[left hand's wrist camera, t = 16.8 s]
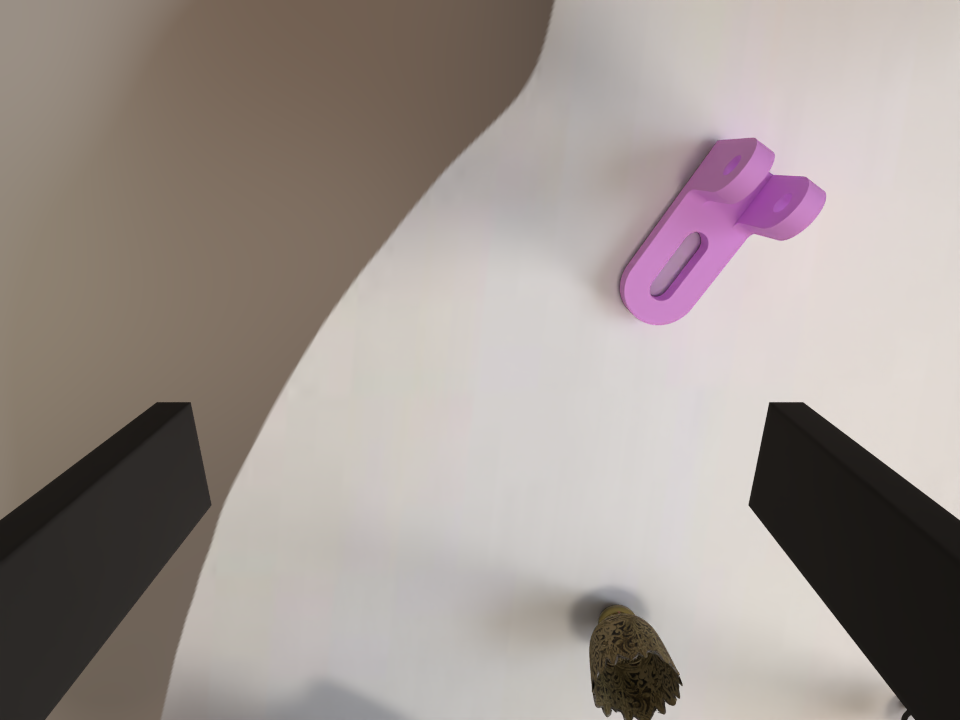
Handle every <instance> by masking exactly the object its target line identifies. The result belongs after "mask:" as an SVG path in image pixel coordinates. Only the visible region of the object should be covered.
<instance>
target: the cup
mask: <svg viewBox="0 0 960 720" xmlns="http://www.w3.org/2000/svg"><path fill="white" fill-rule="evenodd" d="M589 657H590V671H591V682H592V692H593V698H594V702H595V706H596V707H597V708H602V710H603V713H604V714H605V716H606V717H609V716H610V715H611V712H612V710H611V709H613V710H614V711H615V712H616V713H617V711H619V712H621V713H622V715H623V717H624V720H632V719H633V717H635V718H636V719H638V720H651V718H652V717H653V715H654V712H655V711H656V710H657V709H658V711H659V712H658V713H661V714H665V713H666V709H665V702H666V703H668V704H669V705H671V706H674V705H675V704H676V700H677V699H676V697H677V698H679V699H680V692H679V684H680V685H681V686H683V685H682V682H681V679H680V677H679V675H680V674H679V672H678V671H677V669H676V667H675V665H674V663H673V661H672V659H671V657H670V655H669V654H668V652H667V650H666V648H665V646H664V644H663V642H662V641H661V639H660V637H659V636H658V634H657V633H656V631H655V630H654V629H653V628H652V626H651V625H650V624H648V623H647V622H646V621H645V620H643V619H642V618H640V617H638V616H635V614H634V613H633V612H632V611H631V610H630V609H629V608H627V607H625V606H623V605H612V606H609V607H607V608H606V609H604V610H603V611H602V612H601V614H600V616H599V620H598V625H597V626H596V628H595V629H594V631H593V633H592V636H591V640H590V647H589ZM664 700H665V701H664Z"/></svg>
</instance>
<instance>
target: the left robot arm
mask: <svg viewBox="0 0 960 720" xmlns="http://www.w3.org/2000/svg"><path fill="white" fill-rule="evenodd" d="M210 506H211V501H210V496H209V491H208V486H207V481H206V476H205V471H204V466H203V461H202V456H201V451H200V446H199V441H198V437H197V431H196V426H195V422H194V417H193V412H192V407H191V403H190V402H157V403H155V404H154V405H153V406H151V407H150V408H149V409H147V410H146V411H145V412H143V413H142V414H141V415H139V416H138V417H137V418H135V419H134V420H133V421H131V422H130V423H129V424H127V425H126V426H125V427H124V428H122V429H121V430H120V431H118V432H117V433H116V434H114V435H113V436H112V437H110V438H109V439H108V440H106V441H105V442H104V443H102V444H101V445H100V446H98V447H97V448H96V449H94V450H93V451H92V452H90V453H89V454H88V455H86V456H85V457H84V458H82V459H81V460H80V461H78V462H77V463H76V464H74V465H73V466H72V467H70V468H69V469H68V470H66V471H65V472H64V473H62V474H61V475H60V476H58V477H57V478H56V479H54V480H53V481H52V482H50V483H49V484H48V485H46V486H45V487H44V488H43V489H41V490H40V491H39V492H37V493H36V494H35V495H33V496H32V497H31V498H29V499H28V500H27V501H25V502H24V503H23V504H21V505H20V506H19V507H17V508H16V509H15V510H13V511H12V512H11V513H9V514H8V515H7V516H5V517H4V518H3V519H1V520H0V720H45V719H46V718H47V716H48V715H49V714H50V713H51V711H52V710H53V709H54V707H55V706H56V705H57V704H58V702H59V701H60V700H61V698H62V697H63V696H64V695H65V693H66V692H67V691H68V689H69V688H70V687H71V686H72V684H73V683H74V682H75V680H76V679H77V678H78V677H79V675H80V674H81V673H82V671H83V670H84V669H85V667H86V666H87V665H88V664H89V662H90V661H91V660H92V658H93V657H94V656H95V655H96V653H97V652H98V651H99V649H100V648H101V647H102V646H103V644H104V643H105V642H106V640H107V639H108V638H109V637H110V635H111V634H112V633H113V631H114V630H115V629H116V627H117V626H118V625H119V624H120V622H121V621H122V620H123V619H124V617H125V616H126V615H127V613H128V612H129V611H130V609H131V608H132V607H133V606H134V604H135V603H136V602H137V600H138V599H139V598H140V597H141V595H142V594H143V593H144V591H145V590H146V589H147V588H148V586H149V585H150V584H151V582H152V581H153V580H154V578H155V577H156V576H157V575H158V573H159V572H160V571H161V570H162V568H163V567H164V566H165V564H166V563H167V562H168V560H169V559H170V558H171V557H172V555H173V554H174V553H175V551H176V550H177V549H178V548H179V546H180V545H181V544H182V542H183V541H184V540H185V539H186V537H187V536H188V535H189V533H190V532H191V531H192V530H193V528H194V527H195V526H196V524H197V523H198V522H199V521H200V519H201V518H202V517H203V515H204V514H205V513H206V511H207V510H208V509H209V508H210ZM749 506H750V508H751V509H752V510H753V512H754V513H755V514H756V515H757V517H758V518H759V519H760V521H761V522H762V523H763V524H764V526H765V527H766V528H767V530H768V531H769V532H770V533H771V535H772V536H773V537H774V539H775V540H776V541H777V542H778V544H779V545H780V546H781V548H782V549H783V550H784V551H785V553H786V554H787V555H788V557H789V558H790V559H791V561H792V562H793V563H794V564H795V566H796V567H797V568H798V570H799V571H800V572H801V573H802V575H803V576H804V577H805V579H806V580H807V581H808V582H809V584H810V585H811V586H812V588H813V589H814V590H815V591H816V593H817V594H818V595H819V597H820V598H821V599H822V600H823V602H824V603H825V604H826V606H827V607H828V608H829V609H830V611H831V612H832V613H833V615H834V616H835V617H836V619H837V620H838V621H839V622H840V624H841V625H842V626H843V628H844V629H845V630H846V631H847V633H848V634H849V635H850V637H851V638H852V639H853V640H854V642H855V643H856V644H857V646H858V647H859V648H860V649H861V651H862V652H863V653H864V655H865V656H866V657H867V658H868V660H869V661H870V662H871V664H872V665H873V666H874V667H875V669H876V670H877V671H878V673H879V674H880V675H881V677H882V678H883V679H884V680H885V682H886V683H887V684H888V686H889V687H890V688H891V689H892V691H893V692H894V693H895V695H896V696H897V697H898V698H899V700H900V701H901V702H902V704H903V705H904V706H905V707H906V709H907V710H908V711H909V713H910V714H911V715H912V716H913V718H914V719H915V720H960V520H959V519H957V518H956V517H955V516H953V515H952V514H951V513H949V512H948V511H947V510H945V509H944V508H943V507H941V506H940V505H939V504H937V503H936V502H935V501H933V500H932V499H931V498H929V497H928V496H927V495H925V494H924V493H923V492H921V491H920V490H919V489H917V488H916V487H915V486H914V485H912V484H911V483H910V482H908V481H907V480H906V479H904V478H903V477H902V476H900V475H899V474H898V473H896V472H895V471H894V470H892V469H891V468H890V467H888V466H887V465H886V464H884V463H883V462H882V461H880V460H879V459H878V458H876V457H875V456H874V455H872V454H871V453H870V452H868V451H867V450H866V449H864V448H863V447H862V446H860V445H859V444H858V443H856V442H855V441H854V440H852V439H851V438H850V437H848V436H847V435H846V434H844V433H843V432H842V431H840V430H839V429H838V428H837V427H835V426H834V425H833V424H831V423H830V422H829V421H827V420H826V419H825V418H823V417H822V416H821V415H819V414H818V413H817V412H815V411H814V410H813V409H811V408H810V407H809V406H807V405H806V404H805V403H803V402H769V407H768V412H767V417H766V422H765V426H764V431H763V436H762V441H761V446H760V451H759V456H758V461H757V466H756V471H755V476H754V481H753V486H752V491H751V496H750V500H749Z"/></svg>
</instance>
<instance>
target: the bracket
mask: <svg viewBox="0 0 960 720" xmlns="http://www.w3.org/2000/svg"><path fill="white" fill-rule="evenodd" d="M774 158H775V154H774V152H772V151H771V150H770V149H769V148H767V147H766V146H765V145H763V144H762V143H761V142H759V141H758V140H757V139H755V138H743V139H730V140H718V141H717V142H716V144H715V145H714V146H713V148H712V149H711V151H710V152H709V153H708V155H707V156H706V157H705V159H704V160H703V162H702V163H701V164H700V166H699V167H698V168H697V170H696V171H695V173H694V174H693V175H692V177H691V178H690V180H689V181H688V182H687V184H686V185H685V186H684V188H683V189H682V191H681V192H680V193H679V195H678V196H677V197H676V199H675V200H674V202H673V203H672V204H671V206H670V207H669V208H668V210H667V211H666V213H665V214H664V215H663V217H662V218H661V220H660V221H659V222H658V224H657V225H656V226H655V228H654V229H653V231H652V232H651V233H650V235H649V236H648V237H647V239H646V240H645V242H644V243H643V244H642V246H641V247H640V248H639V250H638V251H637V253H636V254H635V255H634V257H633V258H632V259H631V261H630V262H629V264H628V265H627V267H626V268H625V270H624V272H623V274H622V277H621V282H620V294H621V298H622V300H623V303H624V304H625V306H626V307H627V309H628V310H629V311H630V312H631V313H632V314H633V315H634V316H635V317H636V318H638V319H639V320H641V321H643V322H645V323H648V324H652V325H664V324H669V323H672V322H675V321H677V320H679V319H680V318H682V317H683V316H685V315H686V314H687V313H688V312H689V311H690V310H691V309H692V308H693V306H694V305H695V304H696V302H697V301H698V300H699V299H700V297H701V296H702V295H703V294H704V292H705V291H706V290H707V289H708V287H709V286H710V285H711V283H712V282H713V281H714V280H715V278H716V277H717V276H718V275H719V273H720V272H721V271H722V269H723V268H724V267H725V266H726V264H727V263H728V262H729V261H730V259H731V258H732V257H733V256H734V254H735V253H736V252H737V250H738V249H739V248H740V247H741V245H742V244H743V243H744V242H745V240H746V239H747V238H748V237H749V236H750V235H752V234H757V235H761V236H765V237H768V238H772V239H776V240H787V239H790V238H792V237H794V236H796V235H797V234H799V233H800V232H802V231H803V230H804V229H805V228H807V227H808V226H809V225H810V224H811V223H812V222H813V221H814V219H815V218H816V217H817V216H818V214H819V213H820V211H821V210H822V208H823V206H824V204H825V200H826V193H825V191H823V190H822V189H821V188H820V187H818V186H817V185H816V184H814V183H813V182H812V181H810V180H809V179H808V178H806V177H801V176H783V175H772V174H771V173H770V172H769V170H770V169H771V167H772V165H773V162H774ZM694 232H698V233H699V235H700V237H701V245H700V247H699V249H698V250H697V251H696V253H695V254H694V255H693V257H692V258H691V259H690V261H689V262H688V263H687V265H686V266H685V267H684V268H683V270H682V271H681V272H680V274H679V275H678V276H677V278H676V279H675V280H674V282H673V283H672V284H671V286H670V287H669V288H668V289H667V291H666V292H665V293H664V294H662V295H660V296H651V294H650V286H651V284H652V282H653V281H654V279H655V278H656V277H657V275H658V274H659V273H660V271H661V270H662V269H663V267H664V266H665V265H666V263H667V262H668V261H669V259H670V258H671V257H672V255H673V254H674V253H675V251H676V250H677V249H678V247H679V246H680V245H681V243H682V242H683V241H684V239H685V238H686V237H687V236H688V235H689V234H691V233H694Z"/></svg>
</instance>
